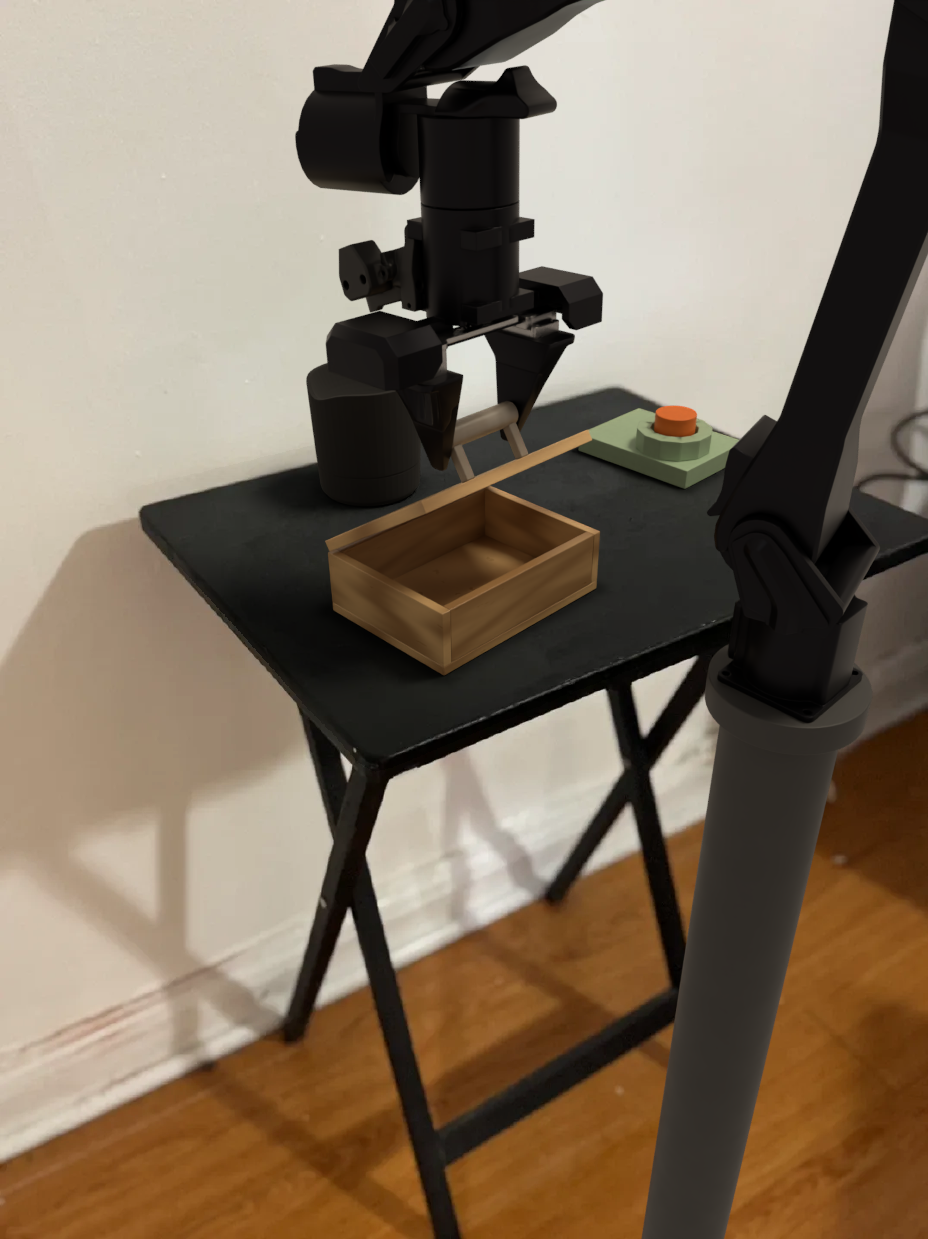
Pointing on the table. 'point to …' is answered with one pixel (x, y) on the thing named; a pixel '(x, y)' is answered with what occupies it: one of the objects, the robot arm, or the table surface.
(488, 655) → the table surface
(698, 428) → the control block
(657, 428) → the button
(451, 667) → the wooden case
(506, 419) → the case lid
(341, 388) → the pen holder
